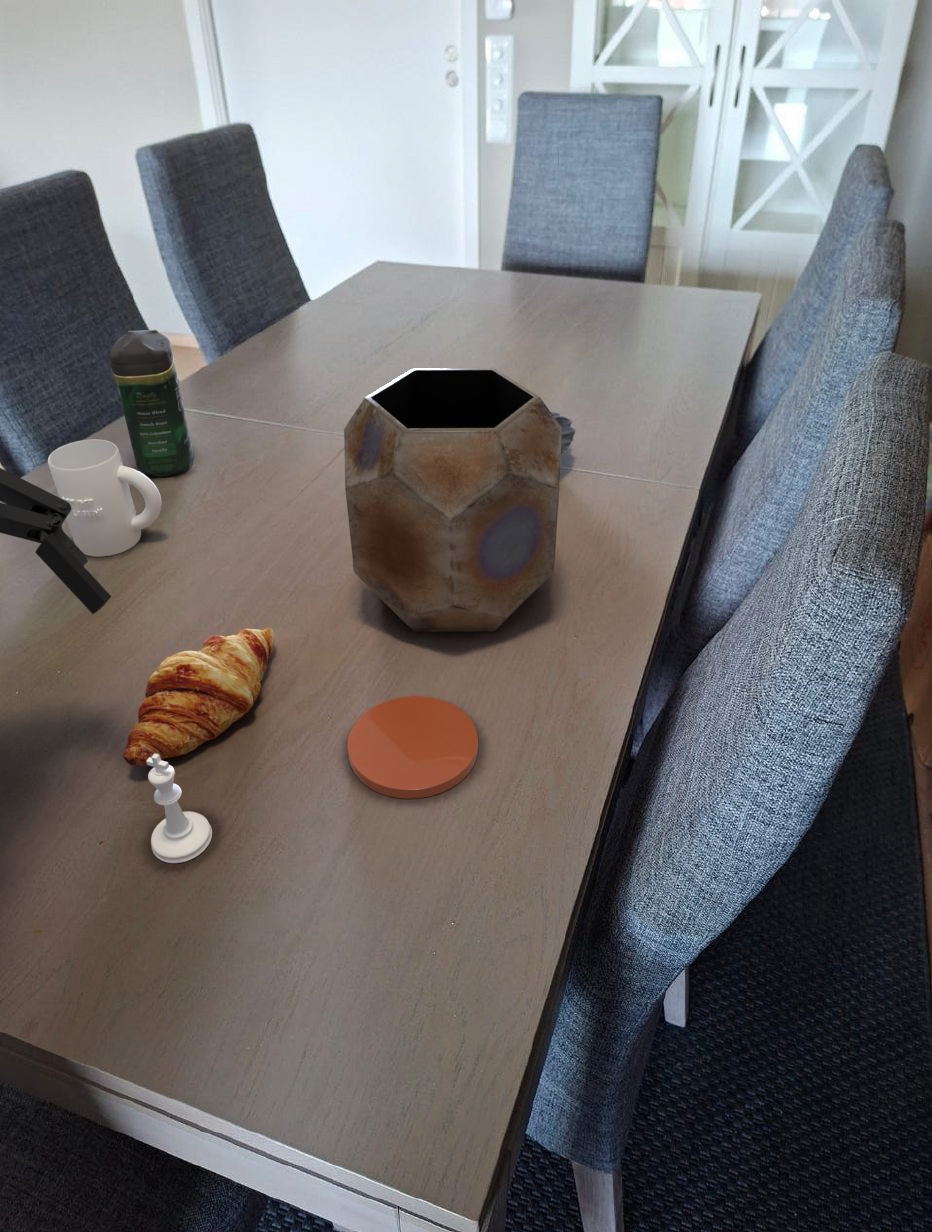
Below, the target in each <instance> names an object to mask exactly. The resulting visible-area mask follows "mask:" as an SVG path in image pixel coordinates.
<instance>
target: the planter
mask: <svg viewBox="0 0 932 1232" xmlns="http://www.w3.org/2000/svg"><path fill="white" fill-rule="evenodd" d="M551 412H552V411H551V410H550V408H549V407H548V406H547V405H546V403H545V402H544V401H543V399H542V398H541V397H540V396H539V395H538V394H535V392H533V391H531V390H529V389H528V388H526V387H525V386H523V385H521V384H520V383H519V382H517V381H516V380H514V379H513V378H510V377H509V376H508V375H506V374H504V373H503V372H501V371H500V370H498V369H497V368H493V367H491V368H490V367H489V368H488V367H487V368H480V367H479V368H478V367H477V368H476V367H475V368H471V367H470V368H467V367H466V368H412V369H410V370H408V371H407V372H404V374H402V375H400V376H398V377H397V378H395V379H393V380H392V381H391V382H389V383H387V384H385V385H384V386H382V387H380V388H379V389H377V390H376V391H374V392H372V393H371V394H368V395H367V396H366V397H363V399H362V401H361V402H360V404H359V405H358V407H357V409H356V410H355V411H354V413H353V414H352V416H351V417H350V419H349V421H348V422H347V423H346V425H345V427H344V429H343V437H344V441H343V442H344V445H343V446H344V489H345V500H346V508H347V518H348V528H349V529H348V530H349V537H350V547H351V556H352V566H353V573H354V574H355V575H356V576H357V577H358V579H360V580H361V581H362V582H363V583H364V584H365V585H366V586H367V587H368V588H369V589H370V590H371V591H372V592H373V593H374V594H375V595H376V596H377V597H378V598H379V599H380V600H381V601H382V602H383V603H384V604H385V605H386V606H387V607H388V608H389V609H390V610H391V611H392V612H393V613H394V614H395V615H397V616H398V618H399V619H400V620H401V621H403V622H404V623H405V625H406V626H408V627H409V628H410V629H411V630H412V632H418V633H419V632H421V633H422V632H426V633H427V632H428V633H429V632H430V633H431V632H435V633H438V632H440V633H441V632H443V633H444V632H445V633H447V632H449V633H451V632H453V633H454V632H456V633H458V632H461V633H462V632H463V633H464V632H467V633H468V632H469V633H470V632H472V633H473V632H475V633H476V632H479V633H481V632H482V633H483V632H492V633H493V632H496V631H497V630H499V628H500V627H501V626H502V625H503V624H504V623H505V621H506V620H507V619H508V618H509V617H510V616H511V615H512V614H514V612H515V611H517V610H518V608H519V607H520V606H521V605H523V604H524V602H525V601H527V599H528V598H530V596H531V595H532V594H534V593H535V592H536V591H537V590H538V589H539V588H540V586H542V585H543V584H544V583H545V582H546V581H547V580H548V579H549V578H550V577H551V576H552V575H553V574H554V572H555V564H556V563H555V562H556V548H557V532H558V531H557V530H558V517H559V516H558V515H559V501H560V484H561V458H562V457H561V456H562V454H561V436H562V427H561V426H560V424H559V423H558V422H557V420H556V419H555V417H554V416H553V415H552V413H551Z"/></svg>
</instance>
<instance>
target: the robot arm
mask: <svg viewBox="0 0 932 1232" xmlns="http://www.w3.org/2000/svg"><path fill="white" fill-rule="evenodd" d="M70 511H71V505H70V504H69V503H68V502H67V501H65V500H63V499H61V498H59V496H57V495H55V494H53V493H51V492H49V491H47V490H45V489H43V488H42V487H39V486H38V485H35V484H33V483H31V482H29V481H27V480H25V479H24V478H21V477H20V476H17V475H16V474H13V473H12V472H9V471H8V470H6V469H4V468H1V467H0V534H3V535H7V536H10V537H11V536H12V537H14V538H19V539H23V540H27V541H30V542H34V543H38V544H39V545H38V546H37V549H36V550H35V554H36V555H37V556H38V557H39V559H41V561H42V562H43V563H44V564H45V565H46V566H47V567H48V568H49V569H50V570H51V571H52V573H54V574H55V576H57V578H58V579H59V580H60V581H61V582H62V583H63V584H64V585H65V586H66V587H67V588H68V589H69V590H70V592H71V593H72V594H73V595H74V596H75V597H76V598H77V599H78V600H79V601H80V602H81V604H83V606H84V607H86V609H87V610H88V611H89V612H90V613H91V614H92V615H94V614H96V613H97V612H99V611H100V610H101V609H102V608H103V607H104V606H105V604H106V603H108V602H109V600H110V599H111V598H112V595H111V594H110V593H109V592H108V590H106V589H105V588H104V587H103V585H102V584H101V583H100V582H99V581H98V580H97V579H96V578H95V577H94V576H93V575H92V574H91V573H90V571H89V570H88V569H87V568H86V567H85V566H86V564H87V563H88V561H89V560H88V559H87V555H85V554H84V553H83V552H82V551H81V550H80V549H79V548H78V547H77V546H76V545H75V543H74V540H73V539H71V538H70V536H68V535H67V533H66V532H65V531H64V529H63V523H64V522H65V521H66V520H67V519H66V517H67V516H68V514H69V513H70Z"/></svg>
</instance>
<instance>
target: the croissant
mask: <svg viewBox="0 0 932 1232" xmlns="http://www.w3.org/2000/svg"><path fill="white" fill-rule="evenodd" d="M275 642H276V635H275V632H274V630H273V628H271V627H266V628H264V629H257V628H244V629H240V630H239V632H238V633H237V634H232V635H227V636H225V635H217V634H212V635H210V636H208V637H207V638H206V639H204V642H203V646H202V648H201V650H196V651H195V650H183V651H180V652H177V653H175V654H173V655H171V656H166V657H165V658H164V660H163V661H162V662H160V664H159V666H158V667H157V668H156V669H155V670H154V672H152V674H151V675H150V677H149V679H148V680H147V683H146V687H145V688H146V689H145V692H144V699H143V701H142V702H141V704H140V705H139V707H138V709H137V715H138V716H137V718H138V722H137V723H136V724H134V726H133V727H132V728H131V730H130V731H129V733H128V736H127V743H126V747H125V748H124V749H125V750H124V752H123V754H122V758H123V760H124V761H125V762H127V764H128V765H130V766H136V767H139V766H140V767H143V766H148V765H147V762H146V761H147V760H148V758H149V757H150V758H151V757H152V756H153V755H154V753H155V754H159V755H160V758H161V760H162V761H163V760H164V759H167V758H174V757H179V756H182V755H187V754H188V753H189V752H193V751H194V750H196V749H197V747H199V746H202V745H203V744H204V743H205V742H207V741H212V740H214V739H215V738H218V737H219V736H220V735H221V734H222V733H224V732H225V731H227V729H228V728H230V727H231V725H232V724H233V723H235V722H236V721H238V720H239V719H241V718H242V717H243V716H244V714H247V713H248V712H249V711H250V710H251V708H252V707H254V703H255V702H256V701H257V699H258V697H259V695H260V692H261V689H262V684H261V681H263V678H264V674H265V673H266V671H267V668H268V661H269V659H270V657H271V655H272V653H273V649H274V645H275Z"/></svg>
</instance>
